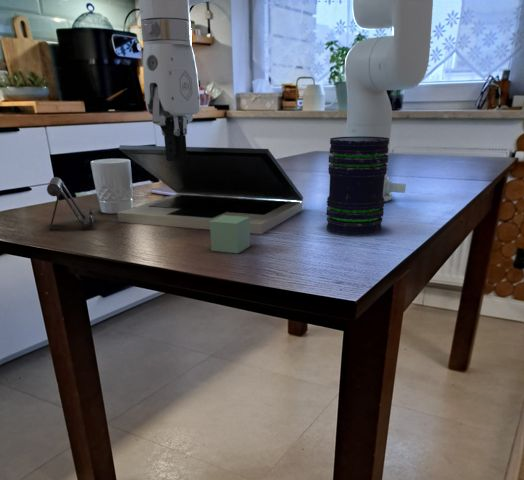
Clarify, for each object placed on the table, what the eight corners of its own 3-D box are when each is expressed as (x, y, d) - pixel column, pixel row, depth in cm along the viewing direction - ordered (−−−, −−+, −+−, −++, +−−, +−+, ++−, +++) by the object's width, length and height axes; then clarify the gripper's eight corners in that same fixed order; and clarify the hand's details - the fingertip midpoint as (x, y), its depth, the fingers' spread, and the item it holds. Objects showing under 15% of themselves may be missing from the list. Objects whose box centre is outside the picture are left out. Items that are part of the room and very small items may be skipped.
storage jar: (319, 233, 89) (322, 140, 82) (332, 221, 97) (336, 136, 91) (377, 237, 86) (385, 141, 79) (385, 224, 94) (394, 136, 88)
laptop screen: (267, 153, 86) (268, 148, 86) (118, 149, 96) (119, 145, 96) (302, 201, 106) (303, 197, 107) (177, 193, 117) (177, 189, 117)
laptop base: (261, 234, 89) (261, 223, 88) (118, 221, 100) (117, 211, 99) (302, 210, 107) (302, 200, 106) (177, 201, 118) (176, 193, 117)
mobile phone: (170, 184, 133) (211, 190, 125) (170, 188, 134) (211, 194, 125) (147, 188, 128) (188, 194, 120) (147, 192, 129) (188, 199, 120)
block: (250, 246, 82) (249, 217, 80) (238, 253, 79) (237, 223, 77) (224, 243, 84) (223, 215, 82) (211, 250, 80) (209, 221, 78)
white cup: (95, 209, 111) (88, 160, 107) (132, 205, 114) (126, 157, 110) (100, 215, 105) (92, 164, 100) (139, 212, 108) (133, 161, 103)
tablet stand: (94, 229, 94) (86, 181, 90) (48, 233, 92) (38, 184, 88) (94, 219, 102) (87, 175, 98) (51, 222, 100) (42, 177, 96)
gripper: (161, 29, 73) (172, 166, 81) (210, 38, 85) (216, 157, 93) (117, 32, 75) (132, 165, 83) (171, 40, 88) (180, 155, 96)
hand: (176, 160), depth 88 cm, fingers closed
